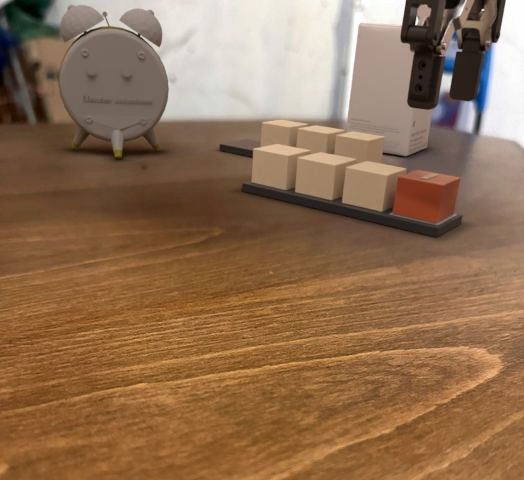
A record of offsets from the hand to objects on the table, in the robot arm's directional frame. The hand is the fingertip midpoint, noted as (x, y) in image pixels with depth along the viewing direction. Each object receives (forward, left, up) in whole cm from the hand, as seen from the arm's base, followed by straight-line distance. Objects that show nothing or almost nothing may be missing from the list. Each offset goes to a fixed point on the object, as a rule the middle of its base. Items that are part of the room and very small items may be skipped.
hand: (443, 103), depth 54 cm
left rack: (-14, -21, -10) cm, 27 cm away
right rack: (0, -7, -10) cm, 12 cm away
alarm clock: (0, -37, -10) cm, 39 cm away
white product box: (-31, -18, -10) cm, 37 cm away
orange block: (0, 0, -9) cm, 9 cm away
